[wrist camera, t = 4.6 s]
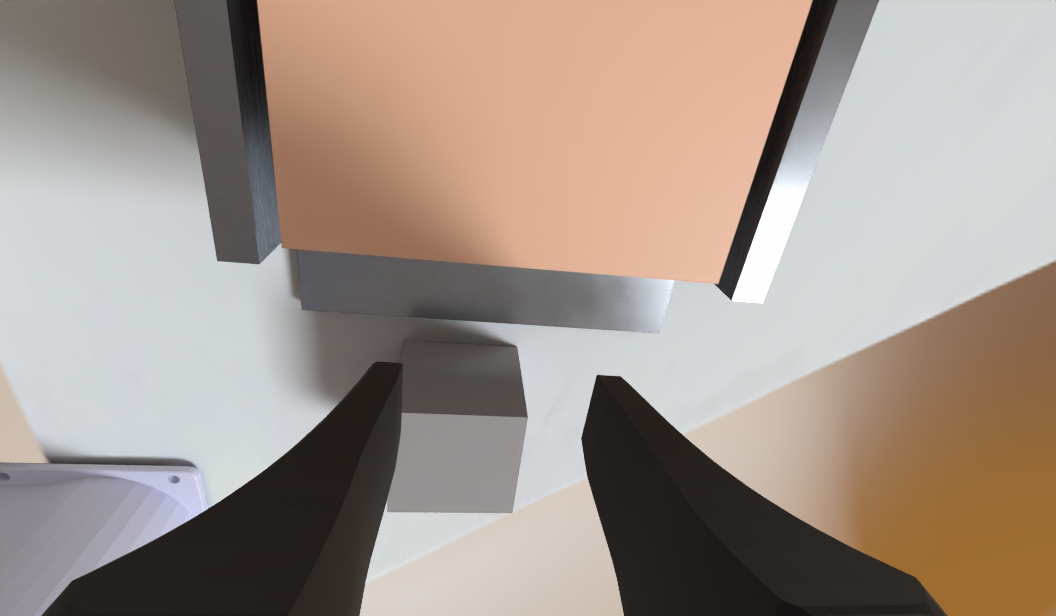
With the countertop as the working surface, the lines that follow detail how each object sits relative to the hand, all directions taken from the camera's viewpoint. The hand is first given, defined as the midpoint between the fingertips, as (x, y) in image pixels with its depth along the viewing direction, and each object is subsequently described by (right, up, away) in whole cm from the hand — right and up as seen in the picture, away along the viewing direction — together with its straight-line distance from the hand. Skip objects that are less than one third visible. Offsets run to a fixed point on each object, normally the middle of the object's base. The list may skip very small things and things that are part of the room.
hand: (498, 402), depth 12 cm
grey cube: (-3, -1, +11) cm, 12 cm away
